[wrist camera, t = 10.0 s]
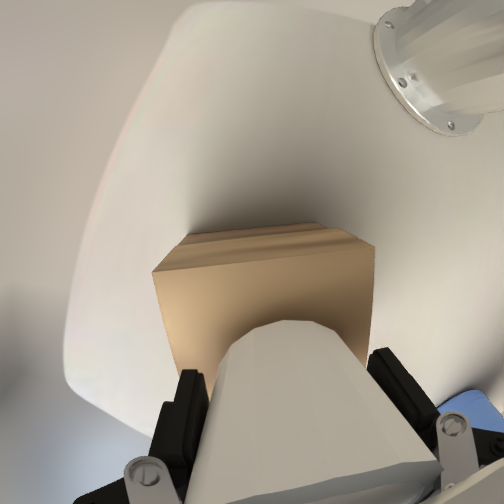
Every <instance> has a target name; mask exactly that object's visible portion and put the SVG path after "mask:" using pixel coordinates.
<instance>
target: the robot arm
mask: <svg viewBox="0 0 504 504" xmlns="http://www.w3.org/2000/svg"><path fill="white" fill-rule="evenodd" d="M374 50H375V55H376V59H377V62H378V64H379V67H380V70H381V72H382V74H383V76H384V78H385V80H386V82H387V84H388V86H389V87H390V89H391V90H392V92H393V93H394V95H395V96H396V98H397V99H398V100H399V101H400V103H401V104H402V105H403V106H404V107H405V109H406V110H407V111H408V112H409V113H410V114H411V115H412V116H413V117H414V118H416V119H417V120H418V121H419V122H420V123H422V124H423V125H425V126H426V127H427V128H429V129H431V130H433V131H435V132H437V133H439V134H443V135H446V136H460V135H467V134H469V133H471V132H473V131H474V130H475V129H476V128H477V127H478V126H479V124H480V122H481V120H482V118H483V115H484V113H489V112H496V111H503V110H504V0H416V1H415V3H414V4H413V5H411V6H410V7H398V8H393V9H391V10H390V11H388V12H386V13H385V14H384V15H383V16H382V18H380V20H379V21H378V23H377V25H376V27H375V31H374ZM367 371H368V373H369V374H370V375H371V376H372V378H373V379H374V380H375V381H376V383H377V384H378V385H379V386H380V388H381V389H382V390H383V391H384V393H385V394H386V395H387V396H388V398H389V399H390V400H391V401H392V403H393V404H394V405H395V407H396V408H397V409H398V410H399V412H400V413H401V414H402V415H403V417H404V418H405V419H406V421H407V422H408V423H409V424H410V426H411V427H412V428H413V429H414V431H415V432H416V433H417V435H418V436H419V437H420V438H421V440H422V441H423V442H424V444H425V445H426V446H427V447H428V449H429V450H430V451H431V453H432V454H433V455H434V457H435V458H436V459H437V460H438V462H439V463H440V464H441V466H442V467H443V468H444V471H442V472H441V473H440V474H439V476H438V477H437V478H436V480H435V481H434V482H433V490H432V491H431V492H429V493H428V494H427V495H426V496H425V497H424V498H423V499H422V500H420V501H419V502H417V503H416V504H504V433H503V432H497V431H490V430H484V429H479V428H473V427H471V424H470V421H469V419H468V418H467V417H466V416H465V415H464V414H462V413H461V412H457V411H448V412H445V413H443V414H440V412H439V411H438V410H437V408H436V407H435V406H434V404H433V403H432V402H431V400H430V399H429V398H428V396H427V395H426V394H425V392H424V391H423V390H422V388H421V387H420V386H419V384H418V383H417V382H416V381H415V379H414V378H413V377H412V376H411V375H410V374H409V373H408V371H407V370H406V369H405V368H404V366H403V365H402V364H401V362H400V361H399V360H398V359H397V357H396V356H395V355H394V354H393V352H392V351H391V350H390V349H389V348H388V347H385V348H381V349H376V350H374V351H373V354H370V356H369V360H368V365H367ZM209 403H210V402H209V397H208V393H207V388H206V383H205V379H204V374H203V373H199V372H198V370H197V369H182V371H181V375H180V379H179V383H178V386H177V390H176V394H175V398H174V402H169V401H165V402H164V403H163V405H162V408H161V411H160V415H159V418H158V421H157V425H156V429H155V432H154V436H153V439H152V443H151V447H150V450H149V454H148V456H140V457H137V458H135V459H133V460H131V461H130V462H129V463H128V464H127V465H126V467H125V469H124V477H123V478H121V479H119V480H117V481H115V482H112V483H110V484H108V485H106V486H104V487H101V488H99V489H97V490H95V491H92V492H90V493H87V494H85V495H83V496H80V497H79V498H77V499H76V500H75V501H74V503H73V504H184V502H185V498H186V494H187V490H188V486H189V482H190V478H191V474H192V470H193V466H194V462H195V458H196V454H197V450H198V446H199V442H200V438H201V434H202V431H203V427H204V423H205V419H206V415H207V411H208V407H209Z"/></svg>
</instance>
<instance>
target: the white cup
mask: <svg viewBox="0 0 504 504" xmlns="http://www.w3.org/2000/svg"><path fill="white" fill-rule="evenodd" d="M442 471H444V468H443V467H442V466H441V464H440V463H439V462H438V460H437V459H436V458H435V457H434V455H433V454H432V453H431V451H430V450H429V449H428V447H427V446H426V445H425V444H424V442H423V441H422V440H421V438H420V437H419V436H418V435H417V433H416V432H415V431H414V429H413V428H412V427H411V426H410V424H409V423H408V422H407V421H406V419H405V418H404V417H403V415H402V414H401V413H400V412H399V410H398V409H397V408H396V407H395V405H394V404H393V403H392V401H391V400H390V399H389V398H388V396H387V395H386V394H385V393H384V391H383V390H382V389H381V388H380V386H379V385H378V384H377V383H376V381H375V380H374V379H373V378H372V376H371V375H370V374H369V373H368V371H367V370H366V369H365V368H364V366H363V365H362V364H361V363H360V361H359V360H358V359H357V358H356V357H355V355H354V354H353V353H352V352H351V350H350V349H349V348H348V347H347V345H346V344H345V343H344V342H343V340H342V339H341V338H340V337H339V336H338V334H337V333H336V332H335V331H334V330H331V329H329V328H327V327H324V326H322V325H320V324H318V323H315V322H313V321H295V320H281V321H278V322H275V323H271V324H268V325H264V326H261V327H257V328H254V329H253V330H251V331H250V332H249V333H247V334H246V335H244V336H243V337H241V338H240V339H239V340H237V341H236V342H234V343H233V344H232V345H231V346H230V348H229V349H228V351H227V353H226V354H225V356H224V358H223V359H222V361H221V363H220V364H219V368H218V372H217V376H216V380H215V384H214V387H213V391H212V395H211V399H210V403H209V407H208V411H207V415H206V419H205V423H204V427H203V431H202V434H201V438H200V442H199V446H198V450H197V454H196V458H195V462H194V466H193V470H192V474H191V478H190V482H189V486H188V490H187V494H186V498H185V502H184V504H416V503H417V502H419V501H420V500H422V499H423V498H424V497H425V496H426V495H427V494H428V493H429V492H431V491H432V490H433V482H434V481H435V480H436V478H437V477H438V476H439V474H440V473H441V472H442Z"/></svg>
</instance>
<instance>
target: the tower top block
mask: <svg viewBox="0 0 504 504" xmlns="http://www.w3.org/2000/svg"><path fill="white" fill-rule="evenodd" d="M374 258H375V247H374V246H372V245H370V244H368V243H367V242H365V241H363V240H361V239H359V238H357V237H355V236H353V235H351V234H349V233H347V232H346V231H344V230H342V229H340V228H333V229H323V230H313V231H304V232H294V233H285V234H275V235H266V236H257V237H248V238H239V239H231V240H222V241H213V242H205V243H196V244H188V245H180V246H175V247H174V248H173V249H172V250H171V252H170V253H169V254H168V255H167V256H166V257H165V258H164V259H163V260H162V261H161V263H160V264H159V265H158V266H157V267H156V268H155V269H154V270H153V272H152V276H153V281H154V285H155V290H156V294H157V298H158V302H159V307H160V311H161V315H162V319H163V322H164V326H165V330H166V334H167V337H168V341H169V344H170V348H171V351H172V355H173V358H174V361H175V365H176V368H177V371H178V374H179V377H180V375H181V371H182V369H197V370H198V372H199V373H203V374H204V379H205V383H206V388H207V393H208V397H209V402H210V399H211V395H212V391H213V387H214V384H215V380H216V376H217V372H218V368H219V364H220V363H221V361H222V359H223V358H224V356H225V354H226V353H227V351H228V349H229V348H230V346H231V345H232V344H233V343H234V342H236V341H237V340H239V339H240V338H241V337H243V336H244V335H246V334H247V333H249V332H250V331H251V330H253V329H254V328H257V327H261V326H264V325H268V324H271V323H275V322H278V321H281V320H295V321H313V322H315V323H318V324H320V325H322V326H324V327H327V328H329V329H331V330H334V331H335V332H336V333H337V334H338V336H339V337H340V338H341V339H342V340H343V342H344V343H345V344H346V345H347V347H348V348H349V349H350V350H351V352H352V353H353V354H354V355H355V357H356V358H357V359H358V360H359V361H360V363H361V364H362V365H363V366H364V368H366V361H367V353H368V345H369V336H370V327H371V316H372V303H373V286H374Z"/></svg>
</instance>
